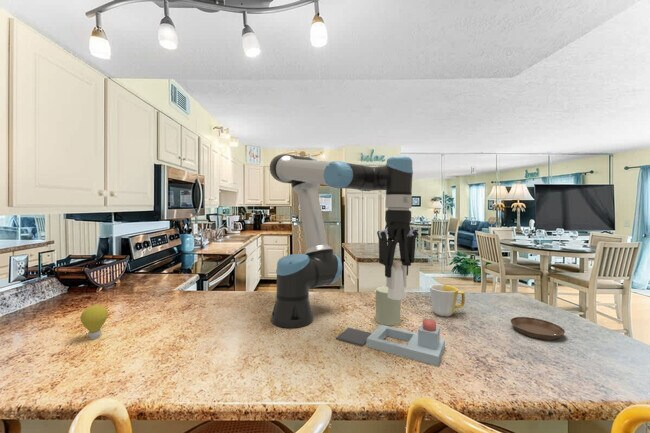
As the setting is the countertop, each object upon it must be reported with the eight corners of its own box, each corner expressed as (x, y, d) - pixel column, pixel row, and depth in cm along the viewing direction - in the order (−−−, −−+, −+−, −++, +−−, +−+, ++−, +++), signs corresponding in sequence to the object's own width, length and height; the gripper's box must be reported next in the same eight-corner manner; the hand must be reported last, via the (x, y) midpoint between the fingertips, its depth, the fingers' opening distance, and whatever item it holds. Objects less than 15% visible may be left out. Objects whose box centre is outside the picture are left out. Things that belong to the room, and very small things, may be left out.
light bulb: (113, 335, 91) (113, 303, 91) (90, 344, 85) (89, 310, 84) (98, 331, 93) (98, 301, 93) (75, 340, 87) (74, 307, 86)
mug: (433, 318, 108) (434, 290, 108) (426, 309, 118) (426, 283, 118) (471, 319, 107) (472, 292, 107) (460, 310, 117) (461, 284, 117)
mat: (336, 339, 90) (336, 337, 90) (348, 329, 98) (348, 327, 98) (362, 346, 85) (362, 344, 85) (373, 335, 93) (373, 333, 93)
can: (401, 326, 100) (402, 292, 100) (374, 324, 102) (375, 290, 102) (400, 317, 109) (400, 285, 109) (375, 315, 111) (375, 284, 111)
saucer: (563, 347, 87) (563, 339, 86) (506, 333, 97) (506, 325, 96) (566, 332, 97) (566, 324, 97) (514, 320, 107) (514, 313, 107)
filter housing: (366, 346, 85) (367, 323, 85) (380, 332, 96) (380, 311, 95) (438, 366, 75) (438, 339, 75) (444, 347, 85) (445, 324, 85)
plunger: (421, 329, 81) (421, 322, 81) (423, 325, 84) (424, 318, 84) (434, 332, 79) (434, 325, 79) (436, 327, 82) (437, 320, 82)
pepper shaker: (408, 299, 85) (409, 262, 84) (391, 300, 83) (392, 263, 83) (400, 294, 90) (401, 259, 89) (383, 295, 89) (384, 259, 88)
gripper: (382, 209, 79) (380, 293, 80) (429, 210, 86) (426, 287, 87) (367, 208, 86) (365, 286, 86) (411, 209, 93) (409, 281, 93)
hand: (396, 286), depth 87 cm, fingers closed on pepper shaker, 4 cm apart
